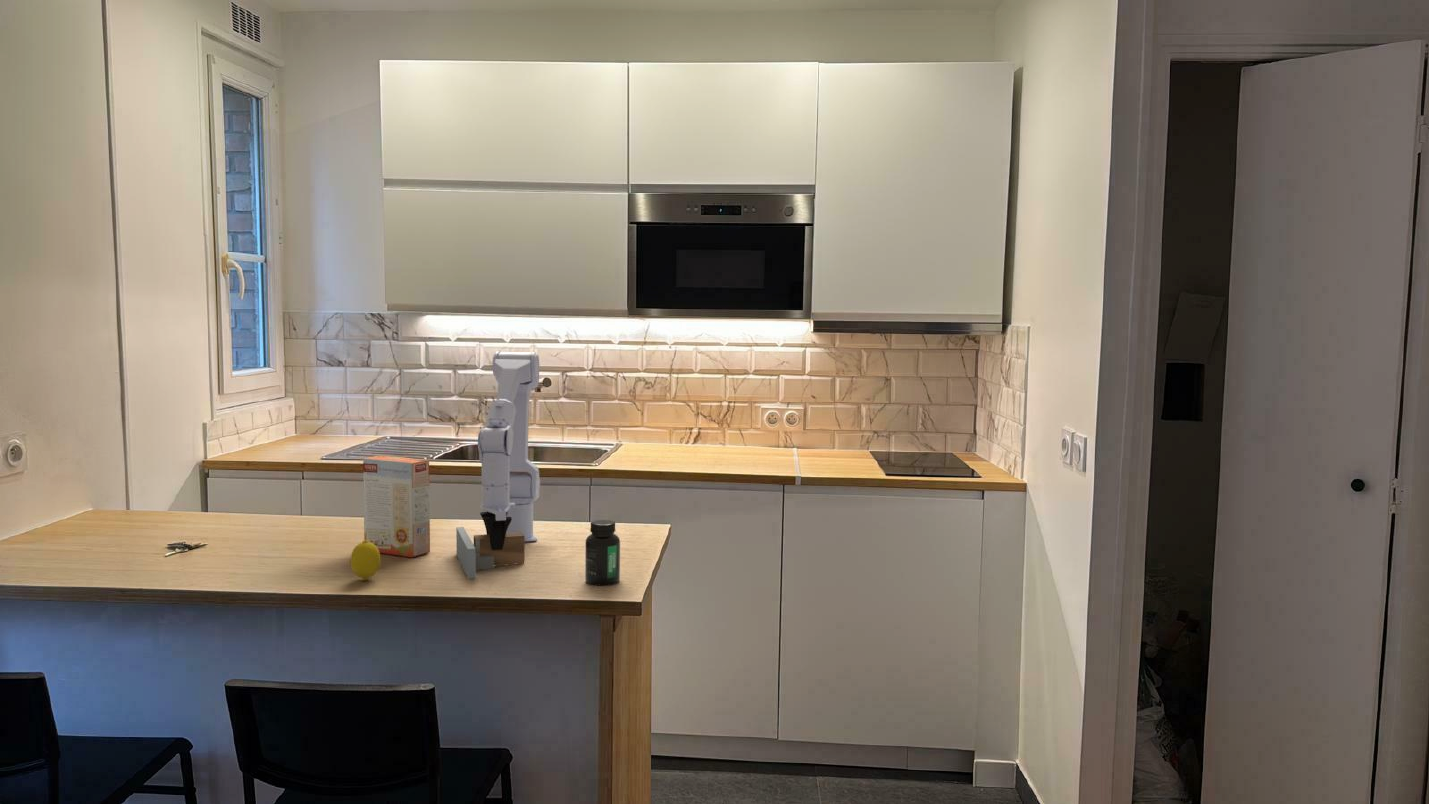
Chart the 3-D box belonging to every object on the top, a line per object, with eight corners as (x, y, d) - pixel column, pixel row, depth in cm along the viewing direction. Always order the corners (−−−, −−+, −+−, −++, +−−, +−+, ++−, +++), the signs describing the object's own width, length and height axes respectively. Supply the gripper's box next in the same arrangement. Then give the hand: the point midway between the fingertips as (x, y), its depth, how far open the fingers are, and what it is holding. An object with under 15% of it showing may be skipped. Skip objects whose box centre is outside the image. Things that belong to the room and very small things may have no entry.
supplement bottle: (620, 585, 185) (621, 525, 183) (585, 586, 183) (586, 526, 182) (618, 576, 191) (619, 518, 190) (584, 577, 190) (585, 518, 189)
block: (473, 562, 199) (473, 535, 199) (521, 559, 203) (521, 531, 203) (476, 567, 196) (475, 539, 195) (524, 563, 200) (524, 535, 199)
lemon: (355, 576, 188) (355, 537, 187) (384, 576, 188) (383, 537, 187) (347, 584, 182) (346, 543, 181) (376, 584, 183) (375, 543, 182)
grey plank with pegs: (456, 554, 206) (456, 527, 205) (484, 552, 208) (484, 525, 208) (467, 578, 187) (467, 549, 187) (498, 576, 190) (498, 546, 189)
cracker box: (431, 552, 207) (430, 458, 205) (412, 559, 201) (411, 462, 199) (383, 545, 213) (382, 453, 211) (363, 551, 207) (361, 457, 205)
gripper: (520, 489, 192) (520, 554, 194) (509, 477, 206) (509, 538, 207) (485, 490, 190) (486, 556, 191) (476, 478, 203) (476, 540, 204)
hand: (495, 547), depth 199 cm, fingers closed on block, 3 cm apart
